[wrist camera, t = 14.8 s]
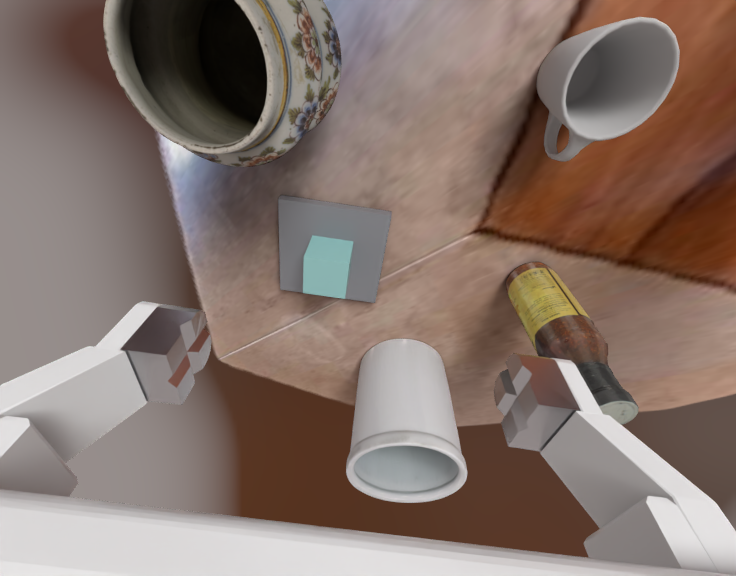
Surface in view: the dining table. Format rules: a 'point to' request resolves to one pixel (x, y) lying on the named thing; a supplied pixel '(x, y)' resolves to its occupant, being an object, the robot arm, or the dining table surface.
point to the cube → (327, 267)
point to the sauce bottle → (567, 334)
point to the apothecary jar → (226, 71)
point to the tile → (338, 223)
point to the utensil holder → (404, 426)
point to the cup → (606, 82)
